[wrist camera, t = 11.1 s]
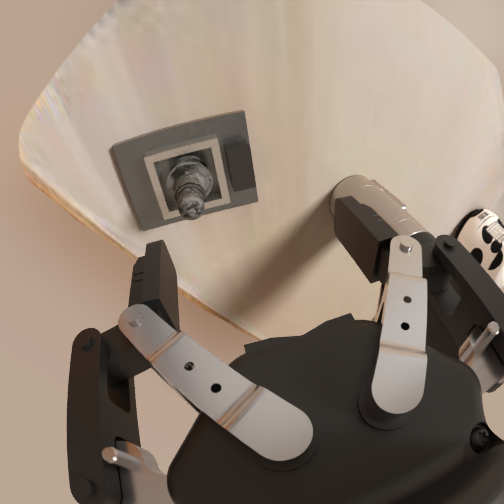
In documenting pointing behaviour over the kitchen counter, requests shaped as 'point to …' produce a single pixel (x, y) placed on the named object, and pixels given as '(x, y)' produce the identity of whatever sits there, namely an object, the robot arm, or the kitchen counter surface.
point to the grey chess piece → (189, 186)
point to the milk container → (485, 242)
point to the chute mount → (188, 144)
